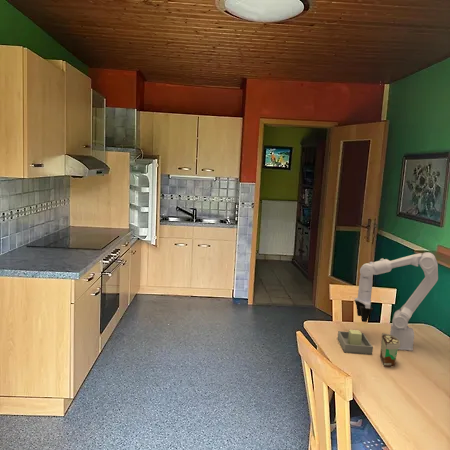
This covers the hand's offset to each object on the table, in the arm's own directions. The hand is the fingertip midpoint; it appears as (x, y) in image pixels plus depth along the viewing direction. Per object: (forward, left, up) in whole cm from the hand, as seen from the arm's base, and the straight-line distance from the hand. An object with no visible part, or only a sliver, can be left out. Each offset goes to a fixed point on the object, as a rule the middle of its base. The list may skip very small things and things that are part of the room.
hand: (362, 318), depth 197 cm
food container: (-6, +24, -10) cm, 27 cm away
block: (+5, +10, -9) cm, 14 cm away
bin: (+5, +10, -9) cm, 15 cm away
